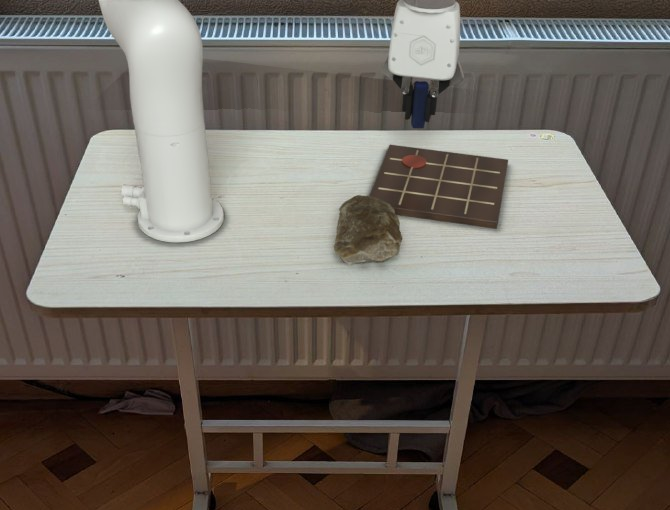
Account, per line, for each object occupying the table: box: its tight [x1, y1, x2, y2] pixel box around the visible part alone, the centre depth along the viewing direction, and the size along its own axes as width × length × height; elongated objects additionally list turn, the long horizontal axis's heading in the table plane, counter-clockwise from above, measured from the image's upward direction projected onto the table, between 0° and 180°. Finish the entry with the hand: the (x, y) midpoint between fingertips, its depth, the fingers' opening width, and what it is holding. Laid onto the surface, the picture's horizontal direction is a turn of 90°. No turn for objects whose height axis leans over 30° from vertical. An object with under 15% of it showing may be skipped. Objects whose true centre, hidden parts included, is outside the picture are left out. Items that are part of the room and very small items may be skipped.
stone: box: [333, 194, 403, 266], centre depth 118 cm, size 13×8×8 cm
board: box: [368, 144, 509, 230], centre depth 132 cm, size 20×20×1 cm
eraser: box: [410, 80, 430, 129], centre depth 129 cm, size 2×2×7 cm
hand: (418, 116), depth 131 cm, fingers closed on eraser, 2 cm apart
